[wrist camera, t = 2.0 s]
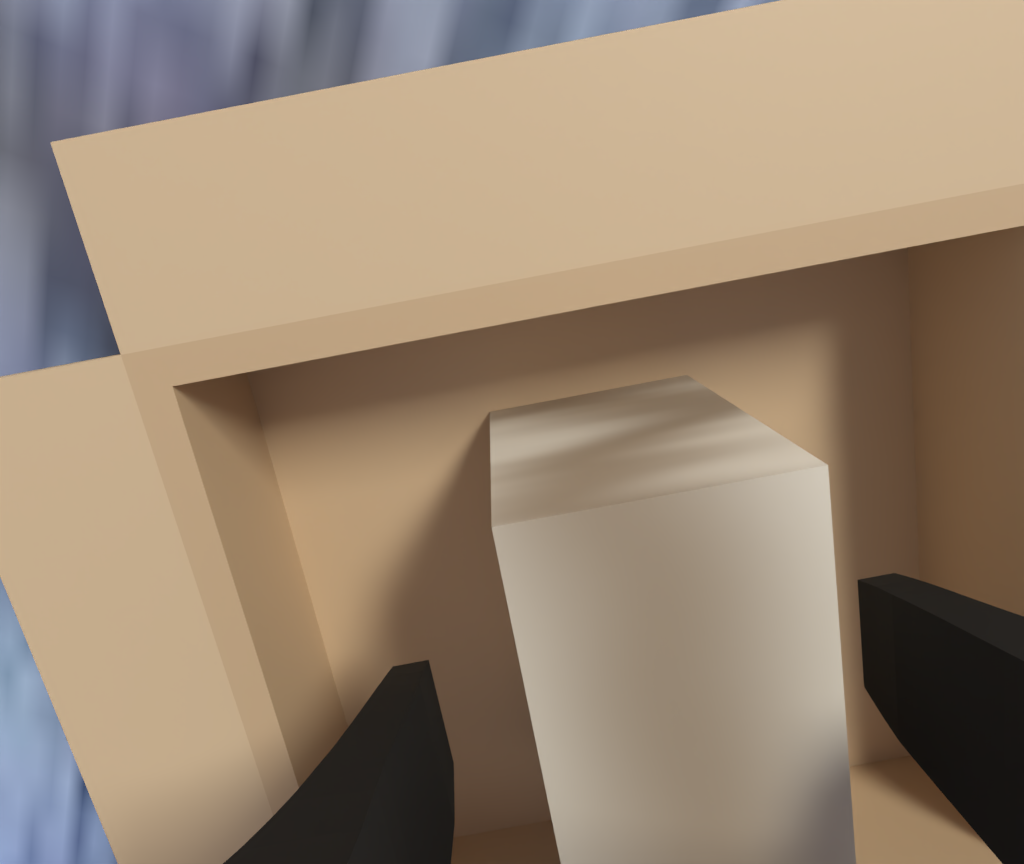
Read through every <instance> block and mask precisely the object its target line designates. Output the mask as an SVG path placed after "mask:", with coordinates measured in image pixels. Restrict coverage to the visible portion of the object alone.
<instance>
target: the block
mask: <svg viewBox="0 0 1024 864" xmlns="http://www.w3.org/2000/svg"><path fill="white" fill-rule="evenodd" d="M490 464H491V523H492V532H493V537H494V542H495V546H496V551H497V556H498V561H499V566H500V571H501V576H502V580H503V585H504V590H505V595H506V600H507V605H508V610H509V614H510V619H511V624H512V629H513V634H514V639H515V644H516V648H517V653H518V658H519V663H520V668H521V673H522V678H523V682H524V687H525V692H526V697H527V702H528V707H529V712H530V716H531V721H532V726H533V731H534V736H535V741H536V746H537V750H538V755H539V760H540V765H541V770H542V775H543V779H544V784H545V789H546V794H547V799H548V804H549V809H550V813H551V818H552V823H553V828H554V833H555V838H556V843H557V847H558V852H559V857H560V862H561V864H856V855H855V841H854V827H853V812H852V798H851V784H850V770H849V756H848V741H847V727H846V713H845V699H844V685H843V670H842V656H841V642H840V628H839V614H838V599H837V585H836V571H835V557H834V543H833V528H832V514H831V500H830V486H829V471H828V465H827V464H826V463H824V462H823V461H821V460H819V459H818V458H816V457H815V456H813V455H812V454H810V453H808V452H807V451H805V450H804V449H802V448H801V447H799V446H797V445H796V444H794V443H793V442H791V441H790V440H788V439H787V438H785V437H783V436H782V435H780V434H779V433H777V432H776V431H774V430H772V429H771V428H769V427H768V426H766V425H765V424H763V423H761V422H760V421H758V420H757V419H755V418H754V417H752V416H751V415H749V414H747V413H746V412H744V411H743V410H741V409H740V408H738V407H736V406H735V405H733V404H732V403H730V402H729V401H727V400H725V399H724V398H722V397H721V396H719V395H718V394H716V393H715V392H713V391H711V390H710V389H708V388H707V387H705V386H704V385H702V384H700V383H699V382H697V381H696V380H694V379H693V378H691V377H690V376H688V375H683V376H678V377H673V378H667V379H662V380H657V381H651V382H646V383H641V384H635V385H630V386H625V387H619V388H614V389H609V390H603V391H598V392H593V393H587V394H582V395H577V396H571V397H566V398H561V399H555V400H550V401H545V402H539V403H534V404H529V405H523V406H518V407H513V408H507V409H502V410H497V411H491V412H490Z"/></svg>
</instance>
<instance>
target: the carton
mask: <svg viewBox="0 0 1024 864" xmlns="http://www.w3.org/2000/svg"><path fill="white" fill-rule="evenodd" d="M51 145H52V148H53V152H54V155H55V158H56V161H57V164H58V167H59V170H60V173H61V176H62V179H63V182H64V185H65V188H66V191H67V194H68V197H69V200H70V203H71V206H72V209H73V212H74V215H75V218H76V221H77V224H78V227H79V230H80V233H81V236H82V239H83V242H84V245H85V248H86V251H87V254H88V257H89V260H90V263H91V266H92V269H93V272H94V275H95V279H96V282H97V285H98V288H99V291H100V294H101V297H102V300H103V303H104V306H105V309H106V312H107V315H108V318H109V321H110V324H111V327H112V330H113V333H114V336H115V339H116V342H117V345H118V348H119V351H120V354H118V355H112V356H107V357H102V358H96V359H91V360H86V361H81V362H75V363H70V364H65V365H60V366H54V367H49V368H44V369H39V370H33V371H28V372H23V373H17V374H12V375H7V376H2V377H0V577H1V579H2V582H3V584H4V587H5V589H6V592H7V594H8V596H9V599H10V601H11V604H12V606H13V609H14V611H15V614H16V616H17V618H18V621H19V623H20V626H21V628H22V631H23V633H24V636H25V638H26V640H27V643H28V645H29V648H30V650H31V653H32V655H33V658H34V660H35V662H36V665H37V667H38V670H39V672H40V675H41V677H42V680H43V682H44V684H45V687H46V689H47V692H48V694H49V697H50V699H51V701H52V704H53V706H54V709H55V711H56V714H57V716H58V719H59V721H60V723H61V726H62V728H63V731H64V733H65V736H66V738H67V741H68V743H69V745H70V748H71V750H72V753H73V755H74V758H75V760H76V763H77V765H78V767H79V770H80V772H81V775H82V777H83V780H84V782H85V785H86V787H87V789H88V792H89V794H90V797H91V799H92V802H93V804H94V807H95V809H96V811H97V814H98V816H99V819H100V821H101V824H102V826H103V829H104V831H105V833H106V836H107V838H108V841H109V843H110V846H111V848H112V851H113V853H114V855H115V858H116V860H117V863H118V864H223V863H224V862H225V861H226V860H228V859H229V858H230V857H231V856H232V855H233V854H234V853H236V852H237V851H238V850H239V849H240V848H241V847H242V846H243V845H244V844H245V843H246V842H247V841H248V840H249V839H250V838H251V837H252V836H253V835H254V834H255V833H257V832H258V831H259V830H260V829H261V828H262V827H263V826H264V825H265V824H266V823H267V822H268V821H269V820H270V819H271V818H272V817H273V816H274V815H275V814H276V812H277V811H278V810H279V809H280V808H281V807H282V806H283V805H284V804H285V803H286V802H287V801H288V800H289V799H290V797H291V796H292V795H293V794H294V793H295V792H296V791H297V790H298V789H299V787H300V786H301V785H302V784H303V783H304V781H305V780H306V779H307V778H308V777H309V775H310V774H311V773H312V772H313V771H314V769H315V768H316V767H317V766H318V765H319V763H320V762H321V761H322V760H323V759H324V757H325V756H326V755H327V754H328V753H329V752H330V750H331V749H332V748H333V747H334V745H335V744H336V743H337V741H338V740H339V739H340V737H341V736H342V735H343V733H344V732H345V731H346V729H347V728H348V727H349V725H350V724H351V723H352V722H353V720H354V719H355V717H356V716H357V715H358V713H359V712H360V711H361V709H362V708H363V706H364V705H365V704H366V702H367V701H368V699H369V698H370V697H371V695H372V694H373V692H374V691H375V690H376V688H377V687H378V686H379V684H380V683H381V681H382V680H383V679H384V677H385V676H386V675H387V673H388V672H389V671H390V669H391V668H392V667H393V666H398V665H403V664H409V663H414V662H419V661H425V660H429V664H430V668H431V672H432V676H433V680H434V684H435V688H436V692H437V696H438V700H439V705H440V709H441V713H442V717H443V721H444V725H445V729H446V733H447V737H448V741H449V746H450V750H451V754H452V758H453V762H454V799H455V825H454V836H453V846H452V856H451V864H561V862H560V857H559V852H558V847H557V843H556V838H555V833H554V828H553V823H552V818H551V813H550V809H549V804H548V799H547V794H546V789H545V784H544V779H543V775H542V770H541V765H540V760H539V755H538V750H537V746H536V741H535V736H534V731H533V726H532V721H531V716H530V712H529V707H528V702H527V697H526V692H525V687H524V682H523V678H522V673H521V668H520V663H519V658H518V653H517V648H516V644H515V639H514V634H513V629H512V624H511V619H510V614H509V610H508V605H507V600H506V595H505V590H504V585H503V580H502V576H501V571H500V566H499V561H498V556H497V551H496V546H495V542H494V537H493V532H492V523H491V464H490V412H491V411H497V410H502V409H507V408H513V407H518V406H523V405H529V404H534V403H539V402H545V401H550V400H555V399H561V398H566V397H571V396H577V395H582V394H587V393H593V392H598V391H603V390H609V389H614V388H619V387H625V386H630V385H635V384H641V383H646V382H651V381H657V380H662V379H667V378H673V377H678V376H683V375H688V376H690V377H691V378H693V379H694V380H696V381H697V382H699V383H700V384H702V385H704V386H705V387H707V388H708V389H710V390H711V391H713V392H715V393H716V394H718V395H719V396H721V397H722V398H724V399H725V400H727V401H729V402H730V403H732V404H733V405H735V406H736V407H738V408H740V409H741V410H743V411H744V412H746V413H747V414H749V415H751V416H752V417H754V418H755V419H757V420H758V421H760V422H761V423H763V424H765V425H766V426H768V427H769V428H771V429H772V430H774V431H776V432H777V433H779V434H780V435H782V436H783V437H785V438H787V439H788V440H790V441H791V442H793V443H794V444H796V445H797V446H799V447H801V448H802V449H804V450H805V451H807V452H808V453H810V454H812V455H813V456H815V457H816V458H818V459H819V460H821V461H823V462H824V463H826V464H827V465H828V471H829V486H830V500H831V514H832V528H833V543H834V557H835V571H836V585H837V599H838V614H839V628H840V642H841V656H842V670H843V685H844V699H845V713H846V727H847V741H848V756H849V770H850V784H851V798H852V812H853V827H854V841H855V855H856V864H1002V862H1001V861H1000V860H999V859H998V858H997V857H996V855H995V854H994V853H993V852H992V851H991V850H990V848H989V847H988V846H987V845H986V844H985V842H984V841H983V840H982V839H981V838H980V837H979V835H978V834H977V833H976V832H975V831H974V830H973V828H972V827H971V826H970V825H969V824H968V822H967V821H966V820H965V819H964V818H963V817H962V815H961V814H960V813H959V812H958V811H957V810H956V808H955V807H954V806H953V805H952V804H951V803H950V801H949V800H948V799H947V798H946V797H945V795H944V794H943V793H942V792H941V791H940V790H939V788H938V787H937V786H936V785H935V784H934V783H933V781H932V780H931V779H930V778H929V777H928V775H927V774H926V773H925V772H924V771H923V769H922V768H921V767H920V766H919V765H918V763H917V762H916V761H915V760H914V759H913V757H912V756H911V755H910V754H909V753H908V751H907V750H906V749H905V748H904V746H903V745H902V744H901V743H900V742H899V740H898V739H897V737H896V736H895V734H894V733H893V731H892V730H891V728H890V727H889V725H888V724H887V722H886V721H885V719H884V718H883V716H882V715H881V713H880V712H879V710H878V708H877V707H876V705H875V703H874V702H873V700H872V699H871V697H870V695H869V694H868V692H867V691H866V689H865V687H864V678H863V662H862V645H861V629H860V613H859V597H858V581H857V580H859V579H864V578H870V577H875V576H881V575H886V574H891V573H896V574H900V575H904V576H908V577H911V578H914V579H918V580H921V581H924V582H927V583H930V584H933V585H936V586H939V587H942V588H944V589H947V590H950V591H953V592H956V593H958V594H961V595H964V596H967V597H970V598H972V599H975V600H978V601H981V602H984V603H987V604H989V605H992V606H995V607H998V608H1001V609H1004V610H1006V611H1009V612H1012V613H1015V614H1018V615H1021V616H1024V0H781V1H776V2H770V3H765V4H760V5H755V6H750V7H745V8H740V9H734V10H729V11H724V12H719V13H714V14H709V15H704V16H698V17H693V18H688V19H683V20H678V21H673V22H667V23H662V24H657V25H652V26H647V27H642V28H637V29H631V30H626V31H621V32H616V33H611V34H606V35H601V36H595V37H590V38H585V39H580V40H575V41H570V42H564V43H559V44H554V45H549V46H544V47H539V48H534V49H528V50H523V51H518V52H513V53H508V54H503V55H498V56H492V57H487V58H482V59H477V60H472V61H467V62H461V63H456V64H451V65H446V66H441V67H436V68H431V69H425V70H420V71H415V72H410V73H405V74H400V75H395V76H389V77H384V78H379V79H374V80H369V81H364V82H358V83H353V84H348V85H343V86H338V87H333V88H328V89H322V90H317V91H312V92H307V93H302V94H297V95H291V96H286V97H281V98H276V99H271V100H266V101H261V102H255V103H250V104H245V105H240V106H235V107H230V108H225V109H219V110H214V111H209V112H204V113H199V114H194V115H188V116H183V117H178V118H173V119H168V120H163V121H158V122H152V123H147V124H142V125H137V126H132V127H127V128H122V129H116V130H111V131H106V132H101V133H96V134H91V135H85V136H80V137H75V138H70V139H65V140H60V141H55V142H51Z"/></svg>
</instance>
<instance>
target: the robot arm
mask: <svg viewBox="0 0 1024 864" xmlns="http://www.w3.org/2000/svg"><path fill="white" fill-rule="evenodd" d="M857 581H858V597H859V613H860V629H861V645H862V662H863V678H864V687H865V689H866V691H867V692H868V694H869V695H870V697H871V699H872V700H873V702H874V703H875V705H876V707H877V708H878V710H879V712H880V713H881V715H882V716H883V718H884V719H885V721H886V722H887V724H888V725H889V727H890V728H891V730H892V731H893V733H894V734H895V736H896V737H897V739H898V740H899V742H900V743H901V744H902V745H903V746H904V748H905V749H906V750H907V751H908V753H909V754H910V755H911V756H912V757H913V759H914V760H915V761H916V762H917V763H918V765H919V766H920V767H921V768H922V769H923V771H924V772H925V773H926V774H927V775H928V777H929V778H930V779H931V780H932V781H933V783H934V784H935V785H936V786H937V787H938V788H939V790H940V791H941V792H942V793H943V794H944V795H945V797H946V798H947V799H948V800H949V801H950V803H951V804H952V805H953V806H954V807H955V808H956V810H957V811H958V812H959V813H960V814H961V815H962V817H963V818H964V819H965V820H966V821H967V822H968V824H969V825H970V826H971V827H972V828H973V830H974V831H975V832H976V833H977V834H978V835H979V837H980V838H981V839H982V840H983V841H984V842H985V844H986V845H987V846H988V847H989V848H990V850H991V851H992V852H993V853H994V854H995V855H996V857H997V858H998V859H999V860H1000V861H1001V862H1002V864H1024V616H1021V615H1018V614H1015V613H1012V612H1009V611H1006V610H1004V609H1001V608H998V607H995V606H992V605H989V604H987V603H984V602H981V601H978V600H975V599H972V598H970V597H967V596H964V595H961V594H958V593H956V592H953V591H950V590H947V589H944V588H942V587H939V586H936V585H933V584H930V583H927V582H924V581H921V580H918V579H914V578H911V577H908V576H904V575H900V574H896V573H891V574H886V575H881V576H875V577H870V578H864V579H859V580H857ZM454 825H455V799H454V762H453V758H452V754H451V750H450V746H449V741H448V737H447V733H446V729H445V725H444V721H443V717H442V713H441V709H440V705H439V700H438V696H437V692H436V688H435V684H434V680H433V676H432V672H431V668H430V664H429V660H425V661H419V662H414V663H409V664H403V665H398V666H393V667H392V668H391V669H390V671H389V672H388V673H387V675H386V676H385V677H384V679H383V680H382V681H381V683H380V684H379V686H378V687H377V688H376V690H375V691H374V692H373V694H372V695H371V697H370V698H369V699H368V701H367V702H366V704H365V705H364V706H363V708H362V709H361V711H360V712H359V713H358V715H357V716H356V717H355V719H354V720H353V722H352V723H351V724H350V725H349V727H348V728H347V729H346V731H345V732H344V733H343V735H342V736H341V737H340V739H339V740H338V741H337V743H336V744H335V745H334V747H333V748H332V749H331V750H330V752H329V753H328V754H327V755H326V756H325V757H324V759H323V760H322V761H321V762H320V763H319V765H318V766H317V767H316V768H315V769H314V771H313V772H312V773H311V774H310V775H309V777H308V778H307V779H306V780H305V781H304V783H303V784H302V785H301V786H300V787H299V789H298V790H297V791H296V792H295V793H294V794H293V795H292V796H291V797H290V799H289V800H288V801H287V802H286V803H285V804H284V805H283V806H282V807H281V808H280V809H279V810H278V811H277V812H276V814H275V815H274V816H273V817H272V818H271V819H270V820H269V821H268V822H267V823H266V824H265V825H264V826H263V827H262V828H261V829H260V830H259V831H258V832H257V833H255V834H254V835H253V836H252V837H251V838H250V839H249V840H248V841H247V842H246V843H245V844H244V845H243V846H242V847H241V848H240V849H239V850H238V851H237V852H236V853H234V854H233V855H232V856H231V857H230V858H229V859H228V860H226V861H225V862H224V863H223V864H451V856H452V846H453V836H454Z"/></svg>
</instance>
